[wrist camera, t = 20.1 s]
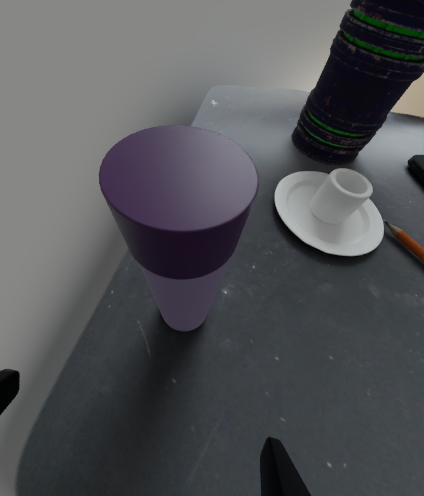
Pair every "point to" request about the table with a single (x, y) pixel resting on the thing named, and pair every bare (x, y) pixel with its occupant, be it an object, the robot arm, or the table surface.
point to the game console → (417, 165)
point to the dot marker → (180, 212)
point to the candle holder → (331, 211)
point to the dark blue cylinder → (362, 78)
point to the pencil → (407, 241)
